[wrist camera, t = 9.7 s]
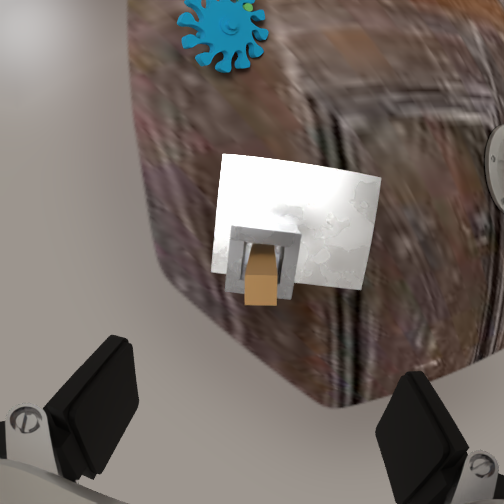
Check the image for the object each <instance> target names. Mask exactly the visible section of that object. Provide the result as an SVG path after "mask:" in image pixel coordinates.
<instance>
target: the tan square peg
mask: <svg viewBox="0 0 504 504" xmlns="http://www.w3.org/2000/svg"><path fill="white" fill-rule="evenodd" d="M277 276H278V275H277V265H276V255H275V245H269V244H252V246H251V251H250V255H249V259H248V263H247V267H246V272H245V305H273V306H277Z"/></svg>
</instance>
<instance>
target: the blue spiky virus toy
mask: <svg viewBox="0 0 504 504" xmlns="http://www.w3.org/2000/svg"><path fill="white" fill-rule="evenodd" d="M254 2H255V0H219V1H216V0H206V9H205V8H203V7H202V6H201V0H185V1H184V3H185V4H186V5H187V6H188V7H190V8H192V9H193V10H194V11H195V12H196V13H197V15H198V17H199V22H196V21H195V20H194V18H193V16H192V14H190V13H189V12H185V13H183V14H181V15H180V17H179V19H178V22H177V24H178V25H179V26H181V27H184V26H187V27H192V28H194V29H195V30H197V31H198V32H197V34H196V36H194V35H192V34H189V35H186V36H184V37H182V45H183V48H184V49H189V48H192V47H194V46H195V45H197V44H206V45H208V46H209V47H210V51H209V53H207V52H204V53H201V54H198V55H197V56H196V57H195V59H196V61H197V62H198V64H199V65H200V66H206V65H209V64H210V63H211V61H212V59H213V57H214V56H215V55H216V54H217V53H219V52H222V53H223V55H224V58H223V60H222V61H220V62H218V63H217V64H216V66H215V69H216V70H217V71H219V72H222V73H228V72H230V71H231V59H232V56H233V55H234V53H235V52H237V54H238V58H237V60H236V61H235V68H236V69H243V68H248V67H250V61H249V60H248V58H247V55H246V44H247V45H248V46H249V55H250V57H251V58H255V57H259V56H260V55H262V53H263V52H264V51H263V49H262V48H261V47H260V46H259V45H257V44H256V42H255V41H254V39H253V36H252V32H253V33H254V35H255V38H256V39H257V40H260V41H261V40H266V38H267V36H268V30H266V29H262V28H259V27H257V26H255V25H254V24H253V23H252V22H251V20H250V18H252V19H253V20H254V21H262V20H265V14H264V11H263V10H257V11H254V12H250V11H252V10H253V6H252V5H251V4H252V3H254Z"/></svg>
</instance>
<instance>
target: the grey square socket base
mask: <svg viewBox="0 0 504 504" xmlns="http://www.w3.org/2000/svg"><path fill="white" fill-rule="evenodd" d="M380 184H381V178H380V177H375V176H371V175H366V174H361V173H356V172H351V171H345V170H340V169H334V168H328V167H323V166H317V165H310V164H304V163H297V162H290V161H283V160H275V159H267V158H259V157H250V156H240V155H230V154H223V158H222V167H221V176H220V185H219V194H218V203H217V213H216V223H215V234H214V245H213V256H212V268H211V272H215V273H223V274H226V283H225V291H226V292H233V293H241V294H245V272H246V267H247V263H248V259H249V255H250V251H251V246H252V244H269V245H275V255H276V265H277V275H278V276H277V298H281V299H290V300H291V297H292V291H293V285H294V283H303V284H311V285H320V286H329V287H338V288H347V289H357V290H361V287H362V283H363V279H364V274H365V270H366V265H367V260H368V256H369V251H370V245H371V240H372V235H373V229H374V224H375V218H376V211H377V205H378V198H379V191H380Z"/></svg>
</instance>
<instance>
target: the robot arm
mask: <svg viewBox="0 0 504 504" xmlns="http://www.w3.org/2000/svg"><path fill="white" fill-rule="evenodd" d="M485 172H486V179H487V183H488V188H489V191H490V193H491V196H492V198H493V200H494V202H495V204H496V205H497V207H498V208H499V210H501V211H502V212H503V213H504V124H502V125H500V126H498V127H496V128H495V129H494V130H493V132H492V133H491V135H490V137H489V140H488V142H487V147H486V153H485ZM138 404H139V397H138V390H137V382H136V374H135V365H134V356H133V347H132V344H130V343H129V342H128V340H127V339H126V338H123V337H119V336H116V335H110V336H109V337H108V338H107V339H106V340H105V341H104V342H103V343H102V344H101V345H100V347H99V348H98V349H97V350H96V351H95V352H94V353H93V354H92V355H91V356H90V357H89V358H88V359H87V360H86V361H85V363H84V364H83V365H82V366H80V368H79V369H78V370H77V371H76V372H75V373H74V374H73V375H72V376H71V378H69V380H68V381H67V382H66V383H65V384H64V385H63V386H62V387H61V388H60V389H59V391H58V392H57V393H56V394H55V395H54V396H53V397H52V399H51V400H50V401H49V402H48V403H47V404H46V405H45V407H44V408H43V409H42V408H41V407H39V406H37V405H34V404H31V403H22V404H18V405H16V406H14V407H13V408H11V410H9V412H8V414H7V415H6V420H5V421H2V422H0V504H128V503H125V502H122V501H119V500H116V499H114V498H111V497H108V496H105V495H103V494H101V493H98V492H96V491H93V490H91V489H88V488H86V487H83V486H82V485H79V482H78V480H79V479H80V477H81V475H84V476H86V477H88V478H90V479H93V480H94V478H95V476H96V474H101V473H102V472H103V470H104V469H105V467H106V465H107V463H108V461H109V459H110V457H111V455H112V454H113V452H114V450H115V448H116V446H117V444H118V443H119V441H120V439H121V437H122V435H123V434H124V432H125V430H126V428H127V426H128V424H129V423H130V421H131V419H132V417H133V415H134V414H135V412H136V410H137V408H138ZM375 433H376V438H377V441H378V444H379V448H380V451H381V454H382V457H383V460H384V463H385V467H386V470H387V474H388V477H389V480H390V484H391V487H392V491H393V495H394V498H395V501H396V503H397V504H504V475H501V474H499V473H498V471H499V466H498V463H497V461H496V459H495V457H494V456H492V455H491V454H490V453H488V452H486V451H482V450H478V451H474V452H471V453H470V454H469V455H468V454H467V452H466V451H467V450H468V449H469V446H468V444H467V443H466V441H465V439H464V437H463V436H462V434H461V432H460V431H459V429H458V427H457V425H456V424H455V422H454V420H453V419H452V417H451V415H450V414H449V412H448V410H447V409H446V408H445V406H444V404H443V402H442V401H441V399H440V398H439V396H438V394H437V393H436V391H435V390H434V388H433V387H432V385H431V383H430V382H429V380H428V379H427V377H426V376H425V374H424V373H423V372H421V371H410V372H407V373H406V374H405V375H404V376H402V377H401V378H400V380H399V382H398V384H397V387H396V389H395V391H394V393H393V395H392V397H391V400H390V402H389V404H388V406H387V408H386V410H385V412H384V414H383V416H382V417H381V420H380V421H379V423H378V425H377V427H376V432H375Z"/></svg>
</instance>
